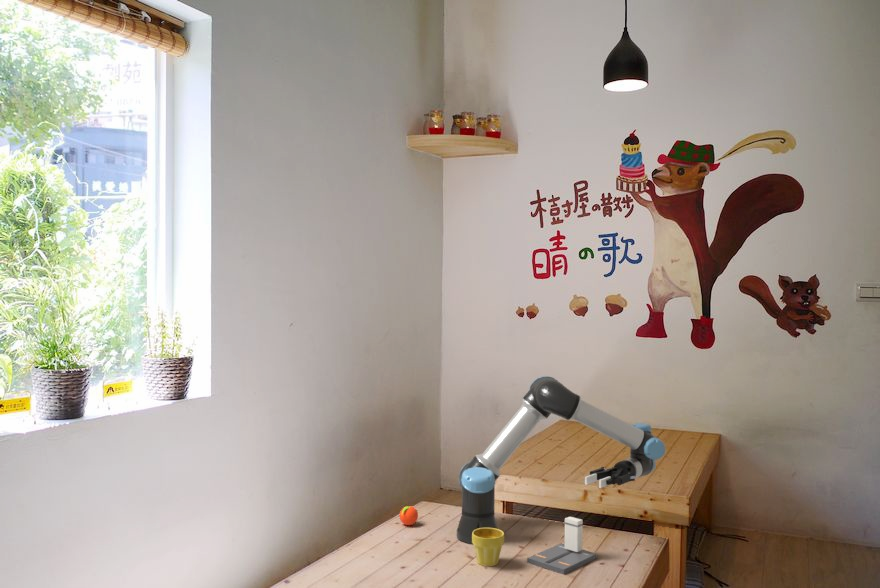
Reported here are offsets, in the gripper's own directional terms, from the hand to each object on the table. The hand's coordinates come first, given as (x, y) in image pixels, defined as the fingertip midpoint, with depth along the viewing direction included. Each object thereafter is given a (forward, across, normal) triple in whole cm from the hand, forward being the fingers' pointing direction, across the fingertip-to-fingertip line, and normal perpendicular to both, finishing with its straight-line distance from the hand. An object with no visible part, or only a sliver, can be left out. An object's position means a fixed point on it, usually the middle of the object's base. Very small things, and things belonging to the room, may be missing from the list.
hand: (593, 482), depth 255 cm
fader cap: (+12, 0, -20) cm, 23 cm away
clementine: (+29, +61, -22) cm, 71 cm away
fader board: (+18, 0, -22) cm, 29 cm away
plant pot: (+37, +16, -22) cm, 46 cm away
